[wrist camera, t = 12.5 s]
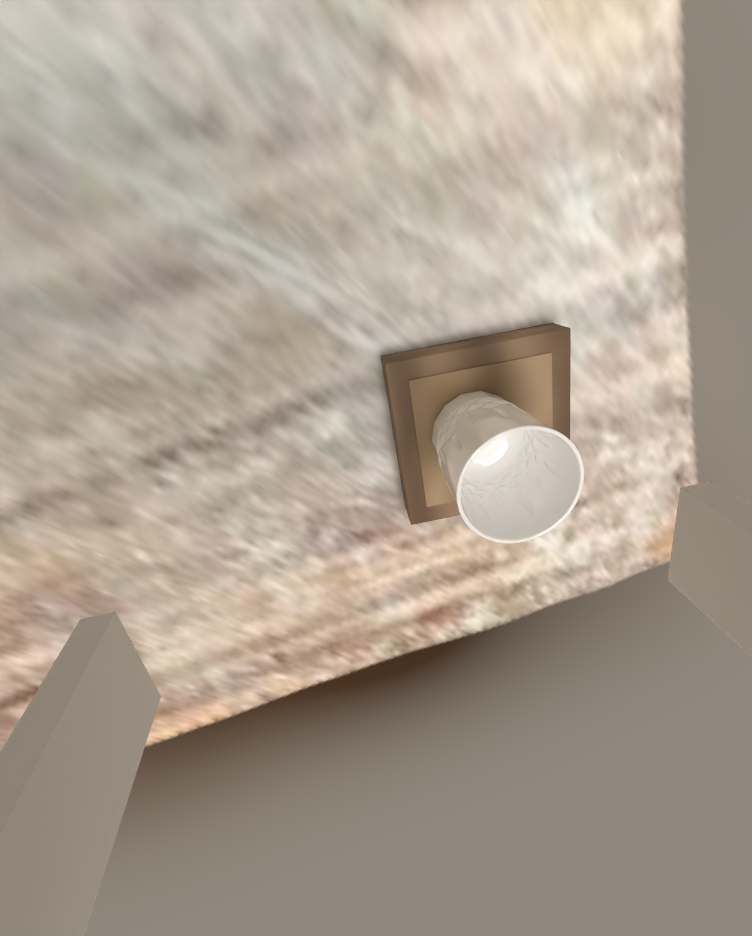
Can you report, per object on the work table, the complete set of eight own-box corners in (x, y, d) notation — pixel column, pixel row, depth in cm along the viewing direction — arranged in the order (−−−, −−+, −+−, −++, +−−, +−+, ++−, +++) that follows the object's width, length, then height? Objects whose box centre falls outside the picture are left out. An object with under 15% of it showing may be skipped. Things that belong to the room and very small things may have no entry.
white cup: (455, 493, 40) (494, 564, 31) (404, 421, 37) (432, 476, 28) (537, 441, 39) (604, 499, 29) (492, 362, 35) (551, 399, 26)
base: (405, 507, 43) (411, 525, 41) (380, 356, 38) (385, 364, 35) (554, 477, 44) (570, 493, 41) (552, 322, 38) (571, 328, 35)
